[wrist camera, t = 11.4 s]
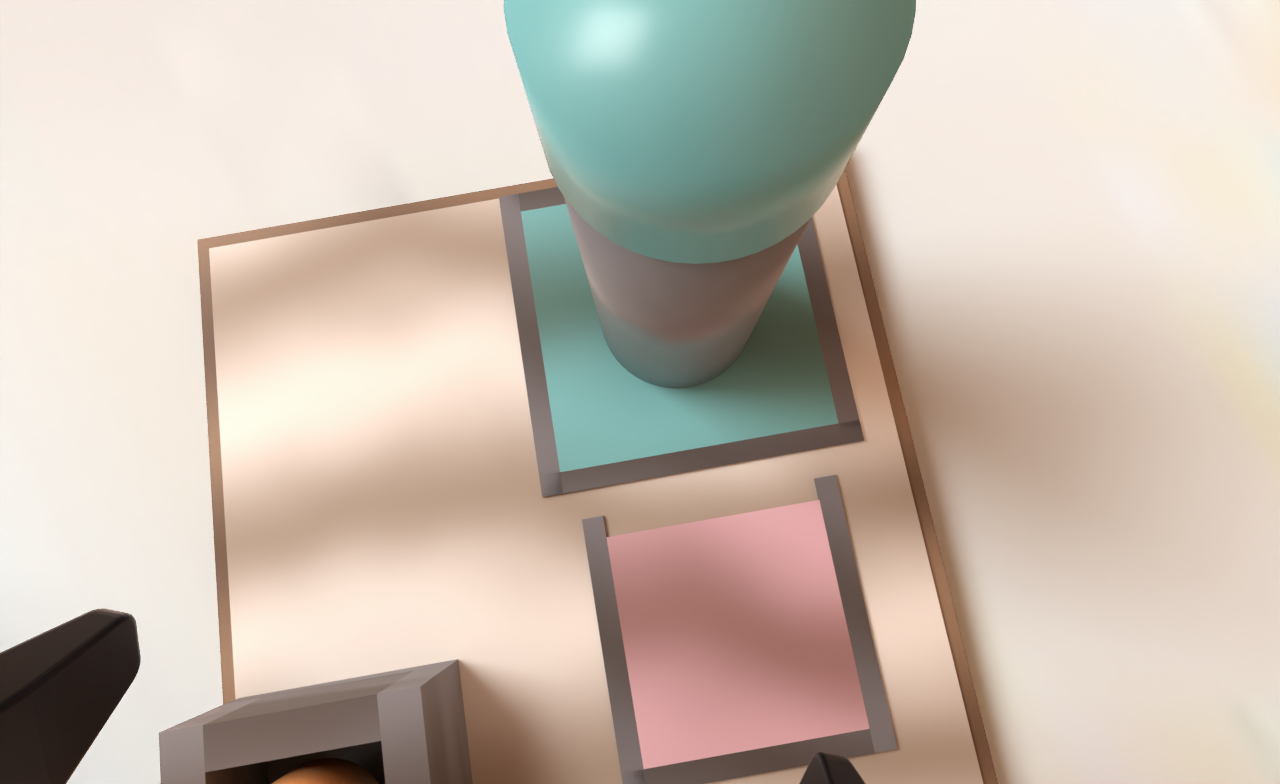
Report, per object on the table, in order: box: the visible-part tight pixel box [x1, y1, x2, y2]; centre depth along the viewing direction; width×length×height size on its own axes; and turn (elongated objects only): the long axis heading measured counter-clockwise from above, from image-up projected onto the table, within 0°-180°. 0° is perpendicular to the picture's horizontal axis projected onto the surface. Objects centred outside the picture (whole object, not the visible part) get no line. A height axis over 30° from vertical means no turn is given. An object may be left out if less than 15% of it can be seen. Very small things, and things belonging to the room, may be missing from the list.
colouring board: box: [159, 169, 998, 784], centre depth 18 cm, size 20×20×4 cm
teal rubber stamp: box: [504, 0, 916, 388], centre depth 14 cm, size 5×5×12 cm
